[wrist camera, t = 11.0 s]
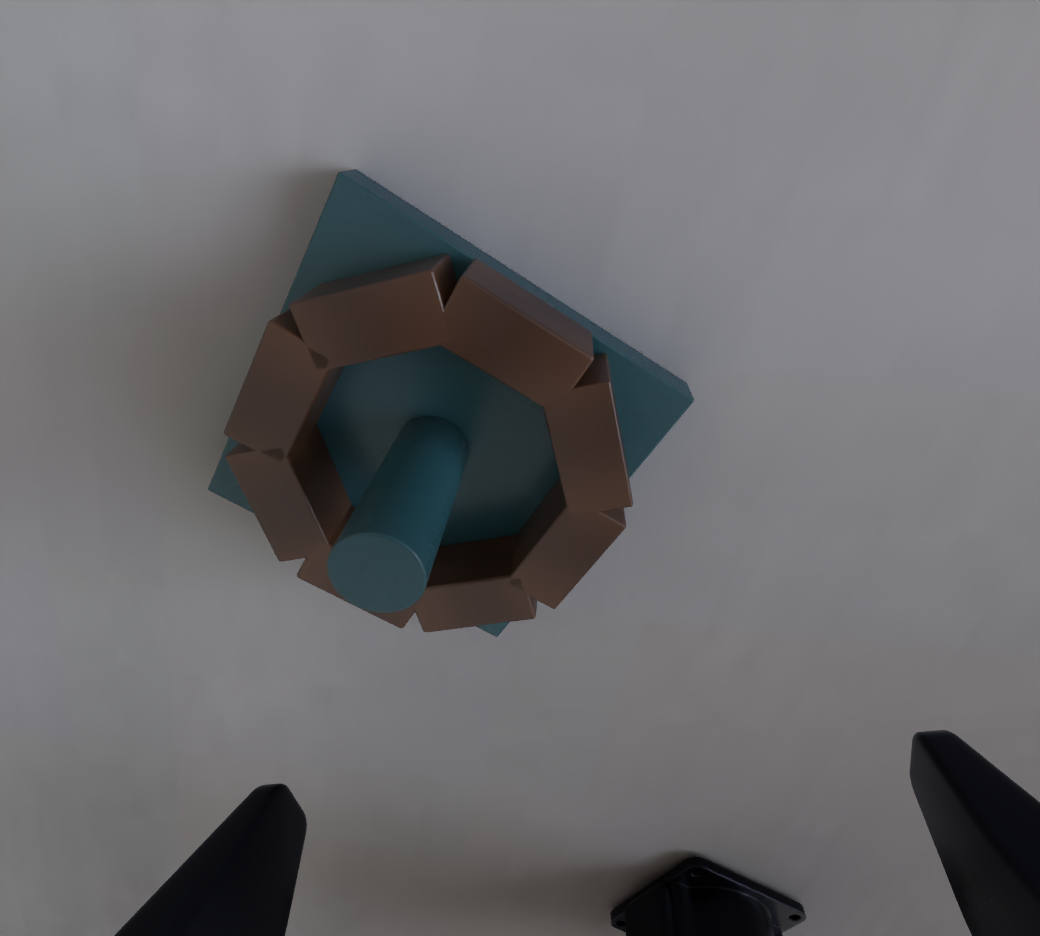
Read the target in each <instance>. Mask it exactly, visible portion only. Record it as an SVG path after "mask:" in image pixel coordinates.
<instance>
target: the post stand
mask: <svg viewBox="0 0 1040 936" xmlns="http://www.w3.org/2000/svg"><path fill="white" fill-rule="evenodd" d="M445 253H448V254H449V255H450V257H451V261H452V264H453V268H454V271H455V275H456V278H457V282H458V280H459V278H460V277H461V275H462V274H463V273H464V272H465V270H466V269H467V268H468V266H469V265H470V264H471V263H472V261H473V260H474V259H478V260H480V261H482V262H483V263H485V264H486V265H488V266H489V267H491V268H492V269H494V270H496V271H497V272H499V273H500V274H502V275H503V276H505V277H507V278H508V279H510V280H511V281H513V282H514V283H516V284H517V285H519V286H521V287H522V288H524V289H525V290H527V291H528V292H530V293H531V294H533V295H535V296H536V297H538V298H539V299H541V300H542V301H544V302H546V303H547V304H549V305H550V306H552V307H553V308H555V309H556V310H558V311H560V312H561V313H563V314H564V315H566V316H567V317H569V318H570V319H572V320H574V321H575V322H577V323H578V324H580V325H581V326H583V327H585V328H586V329H588V330H589V331H591V333H592V341H593V354H594V355H598V354H603V353H606V354H607V356H608V362H609V367H610V373H611V379H612V384H613V390H614V395H615V401H616V406H617V412H618V417H619V423H620V428H621V434H622V439H623V445H624V450H625V456H626V462H627V467H628V474H629V478H630V477H631V476H632V474H633V473H634V472H635V471H636V470H637V468H638V467H639V466H640V465H641V464H642V462H643V461H644V460H645V459H646V458H647V456H648V455H649V454H650V453H651V452H652V450H653V449H654V448H655V447H656V446H657V444H658V443H659V442H660V441H661V440H662V438H663V437H664V436H665V435H666V434H667V432H668V431H669V430H670V429H671V428H672V426H673V425H674V424H675V423H676V422H677V420H678V419H679V418H680V417H681V416H682V414H683V413H684V412H685V411H686V410H687V408H688V407H689V406H690V405H691V404H692V402H693V401H694V399H693V396H692V394H691V392H690V389H689V387H688V385H687V383H686V382H684V381H683V380H681V379H680V378H678V377H677V376H675V375H673V374H672V373H670V372H669V371H667V370H666V369H664V368H663V367H661V366H660V365H658V364H656V363H655V362H653V361H652V360H650V359H649V358H647V357H646V356H644V355H642V354H641V353H639V352H638V351H636V350H635V349H633V348H632V347H630V346H629V345H627V344H625V343H624V342H622V341H621V340H619V339H618V338H616V337H615V336H613V335H612V334H610V333H608V332H607V331H605V330H604V329H602V328H601V327H599V326H598V325H596V324H595V323H593V322H591V321H590V320H588V319H587V318H585V317H584V316H582V315H581V314H579V313H578V312H576V311H574V310H573V309H571V308H570V307H568V306H567V305H565V304H564V303H562V302H560V301H559V300H557V299H556V298H554V297H553V296H551V295H550V294H548V293H547V292H545V291H543V290H542V289H540V288H539V287H537V286H536V285H534V284H533V283H531V282H530V281H528V280H526V279H525V278H523V277H522V276H520V275H519V274H517V273H516V272H514V271H513V270H511V269H509V268H508V267H506V266H505V265H503V264H502V263H500V262H499V261H497V260H496V259H494V258H492V257H491V256H489V255H488V254H486V253H485V252H483V251H482V250H480V249H479V248H477V247H475V246H474V245H472V244H471V243H469V242H468V241H466V240H465V239H463V238H461V237H460V236H458V235H457V234H455V233H454V232H452V231H451V230H449V229H448V228H446V227H444V226H443V225H441V224H440V223H438V222H437V221H435V220H434V219H432V218H431V217H429V216H427V215H426V214H424V213H423V212H421V211H420V210H418V209H417V208H415V207H414V206H412V205H410V204H409V203H407V202H406V201H404V200H403V199H401V198H400V197H398V196H397V195H395V194H393V193H392V192H390V191H389V190H387V189H386V188H384V187H383V186H381V185H379V184H378V183H376V182H375V181H373V180H372V179H370V178H369V177H367V176H366V175H364V174H362V173H361V172H359V171H358V170H356V169H354V170H349V171H343V172H339V173H338V175H337V178H336V180H335V182H334V185H333V187H332V190H331V192H330V195H329V197H328V199H327V202H326V204H325V207H324V209H323V211H322V214H321V216H320V219H319V221H318V224H317V226H316V228H315V231H314V233H313V236H312V238H311V241H310V243H309V245H308V248H307V250H306V253H305V255H304V258H303V260H302V262H301V265H300V267H299V270H298V272H297V275H296V277H295V279H294V282H293V284H292V287H291V289H290V292H289V294H288V296H287V299H286V301H285V304H284V306H283V308H282V311H281V313H280V314H282V313H283V312H285V311H286V310H288V309H290V308H289V304H290V303H291V302H293V301H295V300H296V299H298V298H299V297H301V296H303V295H304V294H306V293H308V292H309V291H311V290H312V289H314V288H316V287H317V286H319V285H321V284H323V283H327V282H331V281H335V280H339V279H343V278H347V277H351V276H355V275H359V274H363V273H368V272H372V271H376V270H380V269H384V268H388V267H392V266H396V265H400V264H404V263H408V262H413V261H417V260H421V259H425V258H429V257H433V256H437V255H441V254H445ZM317 425H318V428H319V430H320V432H321V434H322V437H323V439H324V441H325V444H326V446H327V448H328V451H329V453H330V455H331V458H332V460H333V462H334V465H335V467H336V469H337V472H338V474H339V476H340V479H341V481H342V483H343V486H344V488H345V490H346V493H347V495H348V497H349V500H350V502H351V504H352V505H353V506H355V507H356V508H355V510H354V511H353V513H352V515H351V516H350V518H349V520H348V522H347V523H346V525H345V527H344V528H343V530H342V532H341V534H340V535H339V537H338V539H337V540H336V542H335V544H334V546H333V547H332V549H331V551H330V553H329V556H328V560H327V571H328V575H329V578H330V581H331V583H332V585H333V586H334V588H335V589H336V591H337V592H338V593H339V594H340V595H341V596H342V597H343V598H345V599H346V600H347V601H349V602H350V603H352V604H353V605H355V606H357V607H359V608H362V609H365V610H368V611H372V612H378V613H392V612H398V611H401V610H404V609H406V608H408V607H410V606H412V605H413V604H414V603H415V602H417V601H418V600H419V599H420V597H421V596H422V594H423V593H424V591H425V588H426V585H427V582H428V579H429V576H430V573H431V570H432V567H433V564H434V561H435V557H436V554H437V551H438V548H439V546H444V545H450V544H457V543H463V542H470V541H476V540H483V539H489V538H496V537H502V536H509V535H515V534H517V533H518V532H519V531H520V530H521V528H522V527H523V526H524V524H525V523H526V522H527V520H528V519H529V518H530V516H531V515H532V514H533V512H534V511H535V510H536V509H537V507H538V506H539V505H540V503H541V502H542V501H543V499H544V498H545V497H546V495H547V494H548V493H549V491H550V490H551V489H552V488H553V486H554V485H555V484H556V482H557V481H558V480H559V478H560V477H559V473H558V468H557V464H556V460H555V456H554V452H553V448H552V443H551V439H550V435H549V431H548V427H547V423H546V419H545V414H544V410H543V407H542V406H540V405H539V404H537V403H535V402H534V401H532V400H530V399H529V398H527V397H525V396H524V395H522V394H520V393H519V392H517V391H515V390H514V389H512V388H510V387H509V386H507V385H505V384H504V383H502V382H500V381H499V380H497V379H495V378H494V377H492V376H490V375H489V374H487V373H485V372H484V371H482V370H480V369H479V368H477V367H475V366H474V365H472V364H470V363H469V362H467V361H466V360H464V359H462V358H461V357H459V356H457V355H456V354H454V353H452V352H451V351H449V350H447V349H446V348H444V347H442V346H441V345H440V346H436V347H431V348H427V349H422V350H417V351H413V352H408V353H403V354H399V355H394V356H390V357H385V358H380V359H376V360H371V361H366V362H362V363H357V364H353V365H348V366H345V367H344V369H343V371H342V373H341V375H340V377H339V379H338V381H337V383H336V385H335V387H334V389H333V391H332V393H331V395H330V397H329V399H328V401H327V404H326V406H325V408H324V410H323V412H322V414H321V416H320V418H319V420H318V422H317ZM239 443H240V442H238V441H236V440H234V439H232V438H230V437H229V439H228V442H227V444H226V447H225V449H224V452H223V454H222V456H221V459H220V461H219V464H218V466H217V469H216V471H215V473H214V476H213V478H212V481H211V483H210V486H209V488H208V490H210V491H211V492H213V493H215V494H217V495H219V496H221V497H223V498H225V499H227V500H229V501H231V502H233V503H235V504H237V505H239V506H241V507H243V508H245V509H247V510H249V511H251V512H253V510H252V508H251V506H250V504H249V502H248V500H247V498H246V496H245V494H244V492H243V490H242V489H241V487H240V485H239V483H238V481H237V479H236V477H235V475H234V473H233V471H232V469H231V467H230V465H229V463H228V462H227V460H226V457H225V456H226V455H227V454H228V453H229V452H230V451H231V450H232V449H234V448H235V447H236V446H237V445H238V444H239ZM253 513H254V512H253ZM508 623H509V622H503V623H496V624H488V625H480V626H476V627H478V628H480V629H482V630H484V631H486V632H488V633H490V634H492V635H494V636H496V637H497V636H498V635H499V634H500V633H501V632H502V631H503V629H504V628H505V627H506V626H507V625H508Z"/></svg>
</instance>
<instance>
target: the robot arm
mask: <svg viewBox="0 0 1040 936" xmlns="http://www.w3.org/2000/svg"><path fill="white" fill-rule="evenodd" d="M910 779H911V783H912V787H913V790H914V793H915V796H916V798H917V801H918V803H919V806H920V808H921V811H922V813H923V816H924V818H925V821H926V823H927V826H928V829H929V831H930V834H931V836H932V839H933V841H934V844H935V846H936V849H937V851H938V854H939V857H940V859H941V862H942V864H943V867H944V869H945V872H946V874H947V877H948V879H949V882H950V884H951V887H952V890H953V892H954V895H955V897H956V900H957V902H958V905H959V907H960V909H961V912H962V914H963V917H964V919H965V921H966V924H967V926H968V928H969V930H970V932H971V934H972V936H1040V802H1039V801H1037V800H1036V799H1035V798H1034V797H1032V796H1031V795H1030V794H1029V793H1027V792H1026V791H1025V790H1024V789H1022V788H1021V787H1020V786H1019V785H1017V784H1016V783H1015V782H1014V781H1013V780H1011V779H1010V778H1009V777H1008V776H1006V775H1005V774H1004V773H1003V772H1001V771H1000V770H999V769H998V768H996V767H995V766H994V765H993V764H991V763H990V762H989V761H988V760H986V759H985V758H984V757H983V756H981V755H980V754H979V753H978V752H977V751H975V750H974V749H973V748H972V747H970V746H969V745H968V744H967V743H965V742H964V741H963V740H962V739H960V738H959V737H958V736H956V735H955V734H953V733H952V732H949V731H946V730H939V731H926V732H918V733H916V734H915V735H914V736H913V740H912V751H911V763H910ZM306 826H307V823H306V817H305V814H304V812H303V810H302V809H301V807H300V805H299V804H298V802H297V801H296V799H295V797H294V796H293V794H292V793H291V791H290V790H289V788H288V787H287V786H286V785H284V784H270V785H262V786H259V787H257V788H256V789H255V790H254V791H252V792H251V793H250V794H249V796H248V797H247V798H246V799H245V800H244V801H243V802H242V803H241V804H240V805H239V806H238V807H237V808H236V809H235V810H234V811H233V812H232V813H231V814H230V815H229V816H228V817H227V818H226V820H225V821H224V822H223V823H222V824H221V825H220V826H219V827H218V828H217V829H216V830H215V831H214V832H213V833H212V834H211V835H210V836H209V837H208V838H207V839H206V840H205V841H204V843H203V844H202V845H201V846H200V847H199V848H198V849H197V850H196V851H195V852H194V853H193V854H192V855H191V856H190V857H189V858H188V859H187V860H186V861H185V862H184V863H183V864H182V866H181V867H180V868H179V869H178V870H177V871H176V872H175V873H174V874H173V875H172V876H171V877H170V878H169V879H168V880H167V881H166V882H165V883H164V884H163V885H162V886H161V887H160V888H159V890H158V891H157V892H156V893H155V894H154V895H153V896H152V897H151V898H150V899H149V900H148V901H147V902H146V903H145V904H144V905H143V906H142V907H141V908H140V909H139V910H138V911H137V913H136V914H135V915H134V916H133V917H132V918H131V919H130V920H129V921H128V922H127V923H126V924H125V925H124V926H123V927H122V928H121V929H120V930H119V931H118V932H117V933H116V934H115V936H285V932H286V928H287V924H288V919H289V914H290V909H291V904H292V899H293V894H294V889H295V884H296V879H297V874H298V869H299V864H300V860H301V855H302V850H303V845H304V840H305V835H306ZM805 919H806V915H805V912H804V908H803V906H802V905H801V904H800V903H798V902H796V901H794V900H791V899H789V898H787V897H785V896H783V895H781V894H778V893H776V892H774V891H772V890H770V889H768V888H766V887H763V886H761V885H759V884H757V883H755V882H753V881H750V880H748V879H746V878H744V877H742V876H740V875H737V874H735V873H733V872H731V871H729V870H727V869H725V868H722V867H720V866H718V865H716V864H714V863H712V862H709V861H707V860H705V859H703V858H700V857H691V858H688V859H686V860H685V861H683V862H682V863H680V864H679V865H677V866H676V867H675V868H673V869H672V870H670V871H669V872H667V873H666V874H664V875H663V876H661V877H660V878H659V879H657V880H656V881H654V882H653V883H651V884H650V885H648V886H647V887H646V888H644V889H643V890H641V891H640V892H638V893H637V894H635V895H634V896H633V897H631V898H630V899H628V900H627V901H625V902H624V903H622V904H621V905H619V906H618V907H617V908H615V909H614V910H612V911H611V925H612V926H613V927H615V928H617V929H619V930H622V931H624V932H626V936H783V935H782V933H783V932H785V931H786V930H788V929H790V928H792V927H794V926H796V925H797V924H799V923H801V922H803V921H804V920H805Z"/></svg>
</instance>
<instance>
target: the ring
mask: <svg viewBox="0 0 1040 936" xmlns="http://www.w3.org/2000/svg"><path fill="white" fill-rule="evenodd" d="M289 308H290V309H288V310H286V311H285V312H283V313H282V314H280V315H278V316H277V317H275V318H274V319H272V320H271V321H269V322H268V324H267V327H266V329H265V332H264V334H263V337H262V339H261V341H260V344H259V346H258V349H257V351H256V354H255V356H254V359H253V361H252V364H251V366H250V369H249V371H248V374H247V376H246V379H245V381H244V384H243V386H242V389H241V391H240V394H239V396H238V398H237V401H236V403H235V406H234V408H233V411H232V413H231V416H230V418H229V421H228V423H227V426H226V428H225V431H224V434H225V435H226V436H228V437H230V438H232V439H234V440H236V441H238V442H240V443H239V444H238V445H237V446H236V447H235V448H234V449H232V450H231V451H230V452H229V453H228V454H227V455H226V456H225V457H226V460H227V462H228V463H229V465H230V467H231V469H232V471H233V473H234V475H235V477H236V479H237V481H238V483H239V485H240V487H241V489H242V490H243V492H244V494H245V496H246V498H247V500H248V502H249V504H250V506H251V508H252V510H253V512H254V514H255V515H256V517H257V519H258V521H259V523H260V525H261V527H262V529H263V531H264V533H265V535H266V537H267V539H268V541H269V542H270V544H271V546H272V548H273V550H274V552H275V554H276V556H277V558H278V560H279V561H287V560H294V559H300V558H306V559H305V561H304V562H303V564H302V566H301V568H300V570H299V571H298V573H297V577H298V578H300V579H302V580H304V581H306V582H308V583H310V584H312V585H314V586H316V587H318V588H320V589H322V590H324V591H326V592H328V593H330V594H332V595H334V596H336V597H338V598H340V599H342V600H344V601H346V602H348V603H350V602H349V601H347V600H346V599H345V598H343V597H342V596H341V595H340V594H339V593H338V592H337V591H336V589H335V588H334V586H333V585H332V583H331V581H330V578H329V575H328V571H327V560H328V556H329V553H330V551H331V549H332V547H333V546H334V544H335V542H336V540H337V539H338V537H339V535H340V534H341V532H342V530H343V528H344V527H345V525H346V523H347V522H348V520H349V518H350V516H351V515H352V513H353V511H354V510H355V508H356V507H355V506H353V505H352V504H351V502H350V500H349V497H348V495H347V493H346V490H345V488H344V486H343V483H342V481H341V479H340V476H339V474H338V472H337V469H336V467H335V465H334V462H333V460H332V458H331V455H330V453H329V451H328V448H327V446H326V444H325V441H324V439H323V437H322V434H321V432H320V430H319V428H318V425H317V422H318V420H319V418H320V416H321V414H322V412H323V410H324V408H325V406H326V404H327V401H328V399H329V397H330V395H331V393H332V391H333V389H334V387H335V385H336V383H337V381H338V379H339V377H340V375H341V373H342V371H343V369H344V367H345V366H348V365H353V364H357V363H362V362H366V361H371V360H376V359H380V358H385V357H390V356H394V355H399V354H403V353H408V352H413V351H417V350H422V349H427V348H431V347H436V346H440V345H441V346H442V347H444V348H446V349H447V350H449V351H451V352H452V353H454V354H456V355H457V356H459V357H461V358H462V359H464V360H466V361H467V362H469V363H470V364H472V365H474V366H475V367H477V368H479V369H480V370H482V371H484V372H485V373H487V374H489V375H490V376H492V377H494V378H495V379H497V380H499V381H500V382H502V383H504V384H505V385H507V386H509V387H510V388H512V389H514V390H515V391H517V392H519V393H520V394H522V395H524V396H525V397H527V398H529V399H530V400H532V401H534V402H535V403H537V404H539V405H540V406H542V407H543V410H544V414H545V419H546V423H547V427H548V431H549V435H550V439H551V443H552V448H553V452H554V456H555V460H556V464H557V468H558V473H559V477H560V478H559V480H558V481H557V482H556V484H555V485H554V486H553V488H552V489H551V490H550V491H549V493H548V494H547V495H546V497H545V498H544V499H543V501H542V502H541V503H540V505H539V506H538V507H537V509H536V510H535V511H534V512H533V514H532V515H531V516H530V518H529V519H528V520H527V522H526V523H525V524H524V526H523V527H522V528H521V530H520V531H519V532H518V533H517V534H515V535H509V536H502V537H496V538H489V539H483V540H476V541H470V542H463V543H457V544H450V545H444V546H439V548H438V551H437V554H436V557H435V561H434V564H433V567H432V570H431V573H430V576H429V579H428V582H427V585H426V588H425V591H424V593H423V594H422V596H421V597H420V599H419V600H418V601H417V602H415V603H414V604H413V605H412V606H410V607H408V608H406V609H404V610H401V611H398V612H392V613H378V612H372V611H368V610H365V609H363V610H365V611H367V612H369V613H371V614H373V615H375V616H377V617H379V618H381V619H383V620H385V621H387V622H389V623H391V624H393V625H395V626H397V627H399V628H403V627H404V626H405V625H406V623H407V622H408V621H409V619H410V618H411V616H412V615H413V614H414V612H416V614H417V617H418V619H419V622H420V624H421V626H422V629H423V631H424V632H433V631H441V630H449V629H456V628H464V627H472V626H480V625H488V624H496V623H503V622H511V621H519V620H527V619H533V618H535V616H536V608H537V600H538V601H540V602H541V603H543V604H545V605H547V606H549V607H551V608H553V609H555V608H556V607H557V606H558V605H559V604H560V602H561V601H562V600H563V599H564V598H565V597H566V595H567V594H568V593H569V592H570V591H571V590H572V589H573V587H574V586H575V585H576V584H577V583H578V582H579V581H580V579H581V578H582V577H583V576H584V575H585V574H586V573H587V571H588V570H589V569H590V568H591V567H592V566H593V564H594V563H595V562H596V561H597V560H598V559H599V558H600V556H601V555H602V554H603V553H604V552H605V551H606V550H607V548H608V547H609V546H610V545H611V544H612V543H613V542H614V540H615V539H616V538H617V537H618V536H619V535H620V534H621V532H622V531H623V530H624V529H625V527H626V522H625V514H624V507H631V506H632V505H633V500H632V494H631V487H630V480H629V474H628V467H627V462H626V456H625V450H624V445H623V439H622V434H621V428H620V423H619V417H618V412H617V406H616V401H615V395H614V390H613V384H612V379H611V373H610V367H609V362H608V356H607V354H606V353H603V354H598V355H594V354H593V341H592V333H591V331H589V330H588V329H586V328H585V327H583V326H581V325H580V324H578V323H577V322H575V321H574V320H572V319H570V318H569V317H567V316H566V315H564V314H563V313H561V312H560V311H558V310H556V309H555V308H553V307H552V306H550V305H549V304H547V303H546V302H544V301H542V300H541V299H539V298H538V297H536V296H535V295H533V294H531V293H530V292H528V291H527V290H525V289H524V288H522V287H521V286H519V285H517V284H516V283H514V282H513V281H511V280H510V279H508V278H507V277H505V276H503V275H502V274H500V273H499V272H497V271H496V270H494V269H492V268H491V267H489V266H488V265H486V264H485V263H483V262H482V261H480V260H478V259H474V260H473V261H472V263H471V264H470V265H469V266H468V268H467V269H466V270H465V272H464V273H463V274H462V275H461V277H460V278H459V280H458V282H457V278H456V275H455V271H454V268H453V264H452V261H451V257H450V255H449V254H448V253H445V254H441V255H437V256H433V257H429V258H425V259H421V260H417V261H413V262H408V263H404V264H400V265H396V266H392V267H388V268H384V269H380V270H376V271H372V272H368V273H363V274H359V275H355V276H351V277H347V278H343V279H339V280H335V281H331V282H327V283H323V284H321V285H319V286H317V287H316V288H314V289H312V290H311V291H309V292H308V293H306V294H304V295H303V296H301V297H299V298H298V299H296V300H295V301H293V302H291V303H290V304H289ZM351 604H352V603H351ZM361 609H362V608H361Z"/></svg>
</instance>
